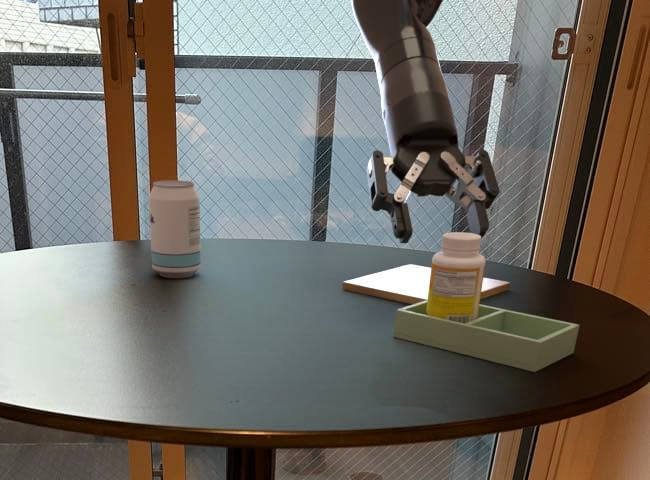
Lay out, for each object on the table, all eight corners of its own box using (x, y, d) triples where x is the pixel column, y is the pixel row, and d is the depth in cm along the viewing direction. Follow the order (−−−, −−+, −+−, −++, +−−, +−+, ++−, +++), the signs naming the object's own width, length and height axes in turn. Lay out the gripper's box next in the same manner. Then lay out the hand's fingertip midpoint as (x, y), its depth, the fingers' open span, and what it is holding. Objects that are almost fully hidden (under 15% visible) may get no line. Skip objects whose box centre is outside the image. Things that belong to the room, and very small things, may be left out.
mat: (409, 271, 118) (410, 264, 117) (509, 289, 108) (510, 282, 108) (342, 289, 108) (342, 281, 107) (445, 311, 98) (446, 303, 98)
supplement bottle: (443, 322, 92) (455, 228, 87) (484, 333, 89) (500, 235, 83) (413, 331, 89) (424, 234, 84) (454, 343, 85) (469, 242, 80)
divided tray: (435, 321, 94) (439, 295, 93) (573, 353, 84) (579, 324, 83) (393, 336, 89) (396, 309, 87) (534, 372, 79) (540, 342, 77)
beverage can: (156, 268, 118) (152, 179, 112) (203, 269, 117) (201, 180, 111) (148, 279, 112) (144, 186, 106) (198, 280, 111) (196, 186, 105)
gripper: (367, 88, 87) (392, 218, 83) (489, 88, 89) (519, 215, 86) (349, 138, 94) (371, 260, 90) (462, 138, 97) (489, 256, 93)
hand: (443, 238), depth 88 cm, fingers open, 8 cm apart
